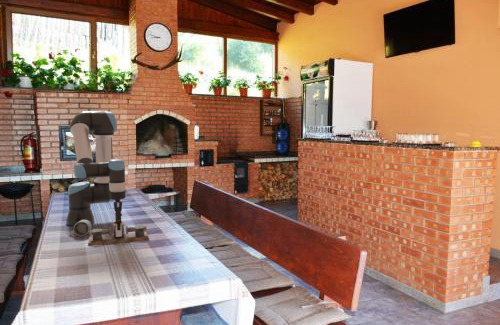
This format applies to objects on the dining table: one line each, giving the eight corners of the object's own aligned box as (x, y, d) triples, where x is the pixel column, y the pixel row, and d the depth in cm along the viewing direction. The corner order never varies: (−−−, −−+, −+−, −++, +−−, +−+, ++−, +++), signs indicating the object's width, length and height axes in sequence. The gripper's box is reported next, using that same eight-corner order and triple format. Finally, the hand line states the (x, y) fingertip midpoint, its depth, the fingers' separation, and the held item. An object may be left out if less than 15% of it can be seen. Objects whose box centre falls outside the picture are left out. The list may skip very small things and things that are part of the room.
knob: (110, 237, 194) (110, 223, 193) (118, 234, 199) (118, 221, 198) (119, 238, 192) (118, 224, 191) (127, 235, 197) (126, 222, 196)
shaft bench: (88, 245, 186) (87, 232, 185) (89, 239, 196) (88, 226, 195) (148, 240, 195) (148, 227, 194) (146, 234, 205) (146, 221, 205)
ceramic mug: (92, 231, 209) (91, 217, 208) (89, 236, 201) (88, 221, 200) (71, 232, 207) (70, 218, 206) (67, 237, 199) (66, 222, 198)
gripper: (126, 194, 183) (127, 238, 185) (124, 186, 206) (125, 225, 208) (109, 195, 180) (110, 240, 182) (109, 187, 203) (110, 226, 206)
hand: (118, 232), depth 195 cm, fingers open, 13 cm apart
